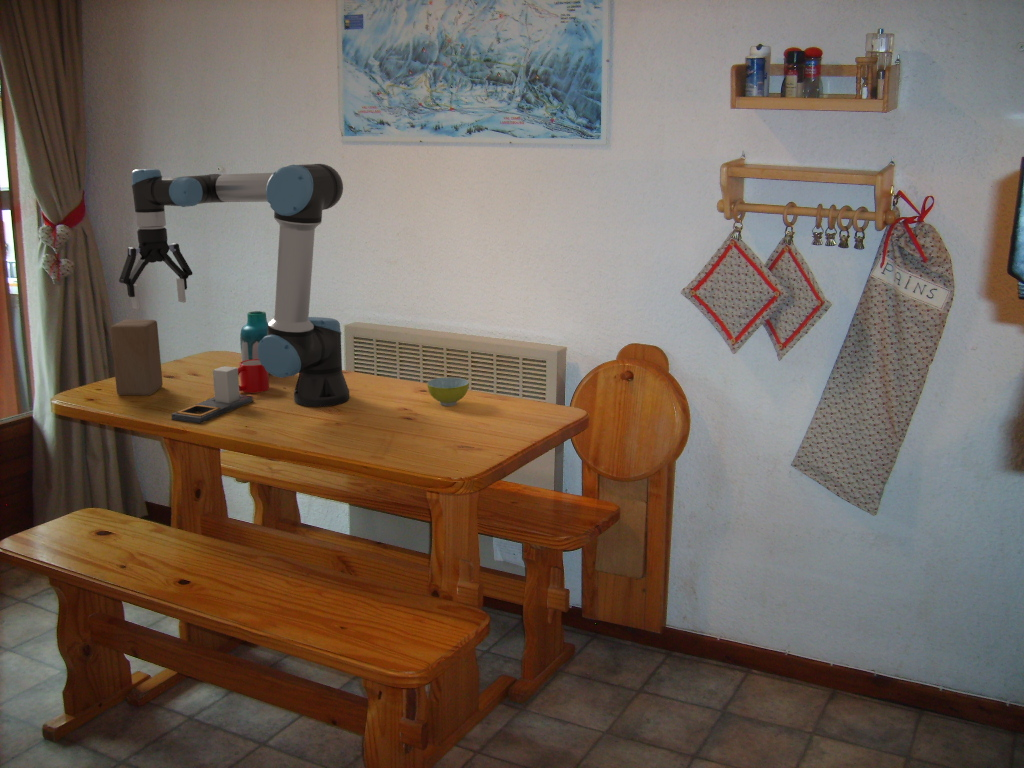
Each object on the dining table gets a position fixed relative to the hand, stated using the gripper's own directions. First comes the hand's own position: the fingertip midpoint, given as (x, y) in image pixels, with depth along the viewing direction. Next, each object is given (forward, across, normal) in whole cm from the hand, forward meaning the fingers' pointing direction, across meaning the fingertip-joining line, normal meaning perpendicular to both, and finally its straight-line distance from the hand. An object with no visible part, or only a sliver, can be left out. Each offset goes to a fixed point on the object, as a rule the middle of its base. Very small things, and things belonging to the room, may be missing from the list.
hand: (159, 305), depth 268 cm
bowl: (+27, -48, +64) cm, 84 cm away
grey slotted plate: (+26, 0, +23) cm, 35 cm away
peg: (+26, -6, +21) cm, 34 cm away
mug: (+26, -18, +13) cm, 34 cm away
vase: (+26, -30, 0) cm, 40 cm away
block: (+25, +4, -8) cm, 27 cm away
